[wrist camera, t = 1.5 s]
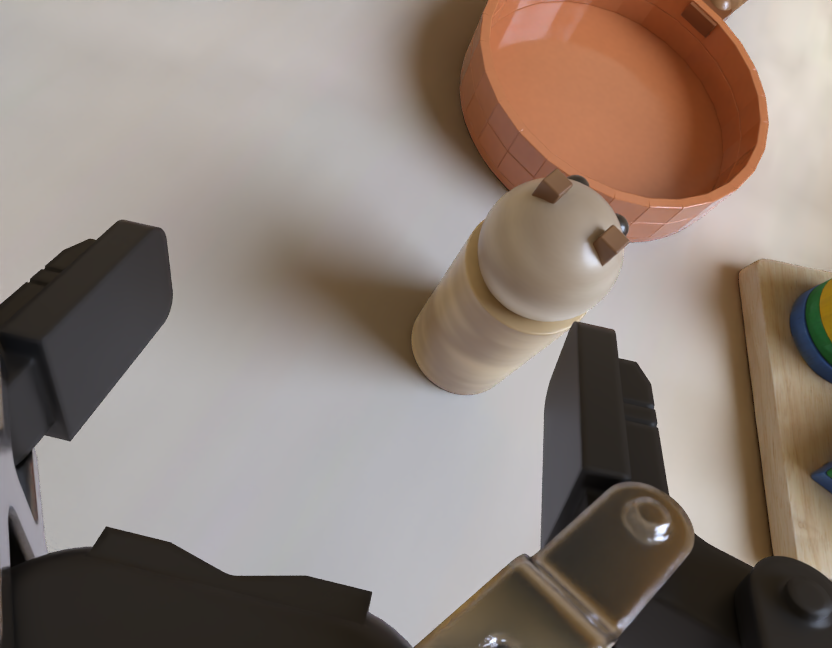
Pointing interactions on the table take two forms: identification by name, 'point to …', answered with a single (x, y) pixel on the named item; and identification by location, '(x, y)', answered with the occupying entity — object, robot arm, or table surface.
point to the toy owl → (519, 282)
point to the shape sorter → (793, 402)
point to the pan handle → (721, 3)
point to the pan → (616, 104)
